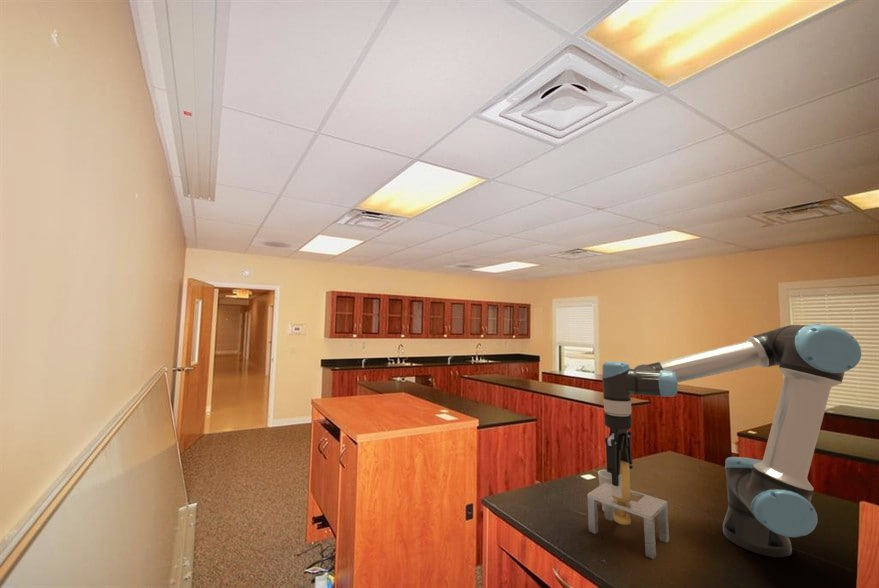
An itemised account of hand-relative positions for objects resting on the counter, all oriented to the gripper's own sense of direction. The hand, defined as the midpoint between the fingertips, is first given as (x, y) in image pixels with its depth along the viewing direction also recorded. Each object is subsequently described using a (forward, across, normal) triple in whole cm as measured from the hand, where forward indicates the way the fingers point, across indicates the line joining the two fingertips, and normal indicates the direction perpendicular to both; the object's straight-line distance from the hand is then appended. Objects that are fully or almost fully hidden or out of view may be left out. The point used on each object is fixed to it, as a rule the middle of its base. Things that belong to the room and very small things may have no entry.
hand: (621, 493), depth 107 cm
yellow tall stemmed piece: (+8, 0, 0) cm, 8 cm away
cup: (+13, -15, -10) cm, 22 cm away
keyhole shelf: (+13, -4, 0) cm, 14 cm away
